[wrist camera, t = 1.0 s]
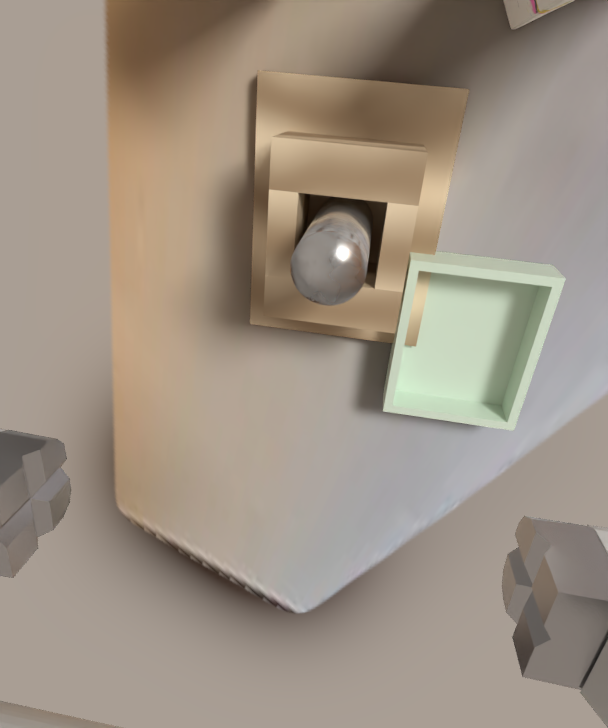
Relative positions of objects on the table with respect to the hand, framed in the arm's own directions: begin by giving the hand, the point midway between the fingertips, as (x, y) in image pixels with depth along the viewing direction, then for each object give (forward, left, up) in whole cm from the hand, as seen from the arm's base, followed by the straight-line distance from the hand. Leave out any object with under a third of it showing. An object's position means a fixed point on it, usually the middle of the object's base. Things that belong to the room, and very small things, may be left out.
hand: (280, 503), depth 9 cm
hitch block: (+1, -1, -27) cm, 27 cm away
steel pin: (+1, -1, -26) cm, 26 cm away
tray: (+8, +8, -27) cm, 30 cm away
